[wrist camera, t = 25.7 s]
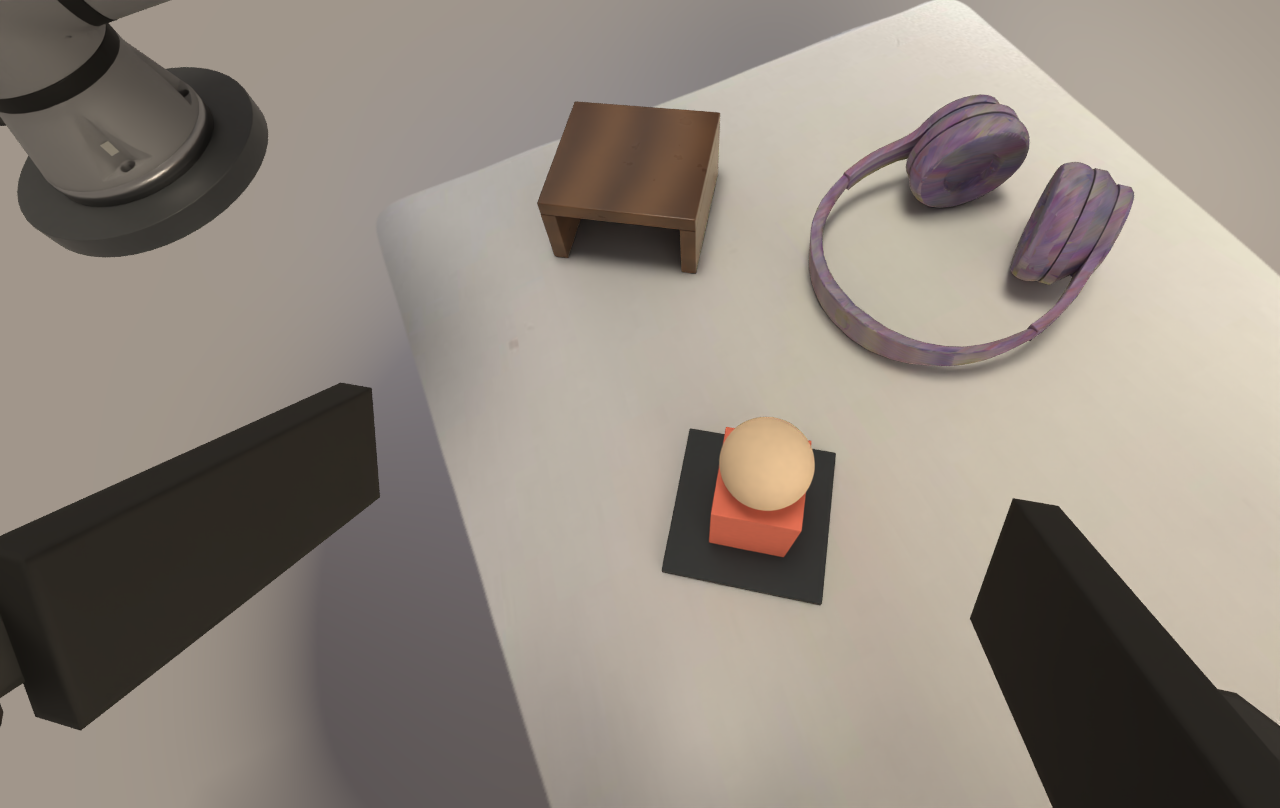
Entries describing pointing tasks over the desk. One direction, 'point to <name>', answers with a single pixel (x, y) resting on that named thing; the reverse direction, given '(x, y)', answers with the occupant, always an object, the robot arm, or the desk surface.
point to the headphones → (958, 173)
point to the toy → (761, 486)
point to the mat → (739, 567)
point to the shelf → (633, 173)
